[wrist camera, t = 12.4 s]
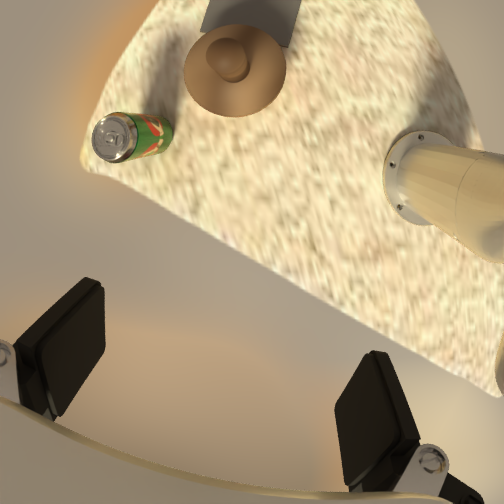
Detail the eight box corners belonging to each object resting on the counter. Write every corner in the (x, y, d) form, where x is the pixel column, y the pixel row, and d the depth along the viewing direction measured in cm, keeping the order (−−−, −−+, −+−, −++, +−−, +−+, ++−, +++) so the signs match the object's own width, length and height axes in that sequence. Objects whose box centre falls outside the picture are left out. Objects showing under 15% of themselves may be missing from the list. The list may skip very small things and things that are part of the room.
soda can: (142, 113, 36) (93, 109, 24) (178, 119, 36) (138, 114, 24) (134, 150, 37) (84, 160, 26) (169, 157, 38) (128, 168, 26)
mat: (306, -20, 27) (307, -22, 27) (288, 47, 31) (288, 46, 31) (223, -34, 27) (222, -35, 27) (200, 32, 31) (200, 30, 31)
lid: (295, 39, 27) (300, 15, 20) (272, 127, 31) (271, 125, 24) (200, 22, 27) (183, -2, 20) (177, 107, 30) (152, 102, 24)
